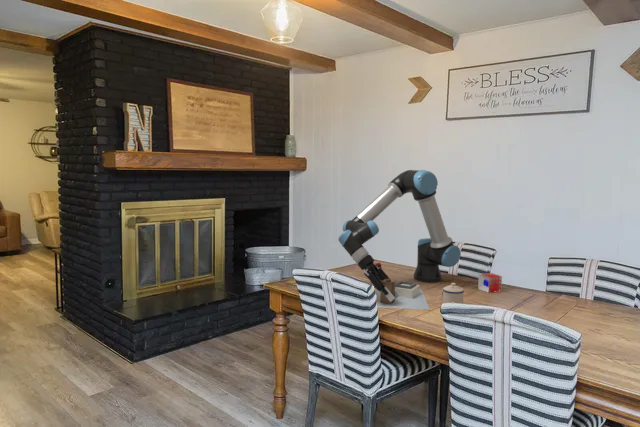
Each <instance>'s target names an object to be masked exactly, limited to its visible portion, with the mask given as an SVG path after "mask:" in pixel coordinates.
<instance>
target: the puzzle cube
mask: <svg viewBox="0 0 640 427" xmlns="http://www.w3.org/2000/svg"><path fill="white" fill-rule="evenodd" d="M502 279H503V276H502V275H499V274H495V273H493V272H486V273H479V274H478V284H477V287H478V288H477V289H478V290H480V291H483V292H485V291H486V293H488V292H491V293H495V292H494V291H499V290H501V291H502V285H503V284H502V282H503V280H502Z"/></svg>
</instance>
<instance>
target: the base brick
mask: <svg viewBox="0 0 640 427" xmlns="http://www.w3.org/2000/svg"><path fill="white" fill-rule="evenodd" d="M395 289H396V291H397V292H398V293H399V294H400V295H399V297H405V298H411V299H412V298H413V297H415V296H416V295H418V294H419V293H420V290H421V285H420V284H417V282H411V281H406V280H399V281H397V282H395Z"/></svg>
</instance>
